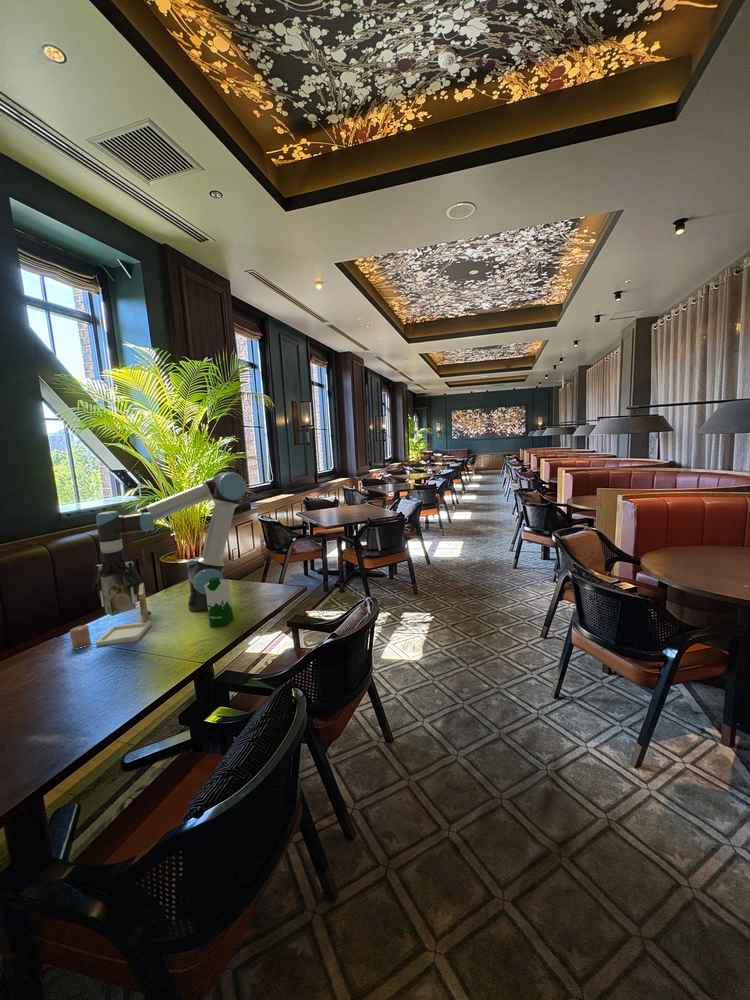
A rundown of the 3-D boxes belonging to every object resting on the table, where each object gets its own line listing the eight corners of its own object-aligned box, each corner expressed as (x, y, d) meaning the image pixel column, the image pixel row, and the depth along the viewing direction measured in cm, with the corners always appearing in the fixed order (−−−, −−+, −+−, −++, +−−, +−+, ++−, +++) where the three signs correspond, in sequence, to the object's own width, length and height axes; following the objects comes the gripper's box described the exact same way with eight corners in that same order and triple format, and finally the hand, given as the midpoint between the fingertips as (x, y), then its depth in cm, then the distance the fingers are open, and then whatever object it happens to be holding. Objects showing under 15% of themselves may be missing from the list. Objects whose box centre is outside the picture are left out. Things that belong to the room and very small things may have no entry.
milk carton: (206, 628, 172) (201, 581, 169) (217, 619, 181) (211, 574, 178) (227, 627, 171) (221, 580, 168) (236, 618, 180) (231, 573, 177)
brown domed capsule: (94, 641, 167) (91, 624, 166) (86, 648, 161) (83, 630, 160) (77, 643, 166) (74, 626, 165) (69, 650, 160) (66, 632, 159)
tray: (151, 625, 179) (150, 621, 179) (137, 641, 164) (137, 636, 164) (113, 630, 177) (112, 626, 176) (96, 646, 162) (95, 642, 162)
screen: (150, 611, 196) (146, 582, 194) (150, 624, 180) (145, 593, 178) (140, 613, 194) (136, 584, 192) (139, 627, 178) (135, 595, 176)
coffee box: (129, 605, 174) (124, 568, 172) (136, 608, 171) (131, 570, 169) (105, 613, 167) (99, 574, 165) (111, 616, 163) (105, 576, 161)
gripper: (146, 545, 171) (153, 597, 174) (85, 551, 168) (93, 604, 170) (139, 549, 164) (147, 603, 167) (75, 555, 160) (83, 611, 163)
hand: (119, 603), depth 169 cm, fingers closed on coffee box, 11 cm apart
